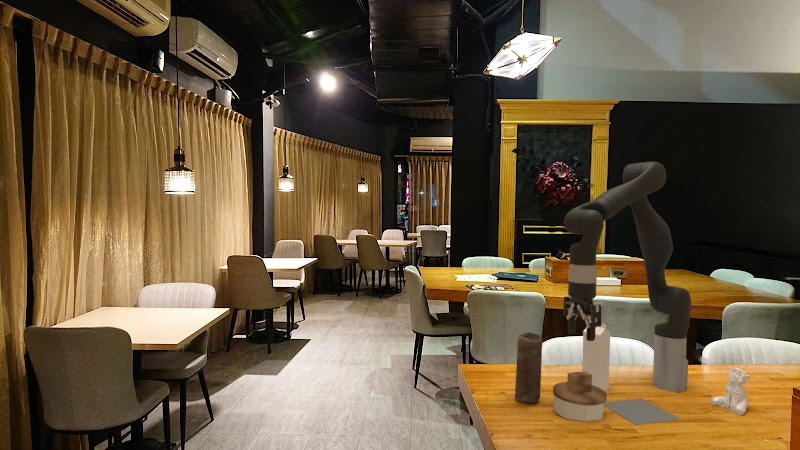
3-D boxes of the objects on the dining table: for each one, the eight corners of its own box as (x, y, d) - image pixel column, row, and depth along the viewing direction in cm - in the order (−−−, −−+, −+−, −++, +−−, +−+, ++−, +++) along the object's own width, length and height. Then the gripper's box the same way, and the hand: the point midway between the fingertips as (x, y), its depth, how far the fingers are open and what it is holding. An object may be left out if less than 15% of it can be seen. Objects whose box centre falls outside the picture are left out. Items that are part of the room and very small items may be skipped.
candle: (541, 397, 149) (543, 333, 149) (540, 407, 143) (541, 339, 142) (516, 394, 152) (517, 331, 151) (513, 403, 145) (515, 337, 144)
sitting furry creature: (708, 404, 146) (709, 364, 146) (726, 399, 150) (728, 361, 149) (740, 416, 138) (742, 374, 137) (759, 411, 141) (761, 371, 141)
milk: (598, 394, 153) (600, 325, 152) (581, 388, 158) (583, 321, 157) (609, 390, 156) (611, 322, 155) (591, 384, 161) (593, 318, 160)
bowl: (584, 401, 147) (584, 385, 147) (613, 419, 135) (613, 401, 134) (546, 405, 144) (546, 388, 144) (572, 424, 131) (573, 406, 131)
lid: (585, 383, 148) (585, 363, 148) (618, 402, 134) (618, 380, 134) (543, 388, 144) (543, 367, 144) (572, 407, 130) (573, 384, 130)
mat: (641, 399, 149) (641, 398, 149) (681, 420, 135) (681, 419, 135) (599, 404, 145) (599, 402, 145) (635, 426, 131) (635, 424, 131)
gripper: (610, 283, 132) (609, 342, 133) (578, 276, 146) (577, 329, 146) (586, 284, 130) (585, 344, 131) (556, 276, 144) (555, 331, 144)
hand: (580, 336), depth 138 cm, fingers open, 8 cm apart
